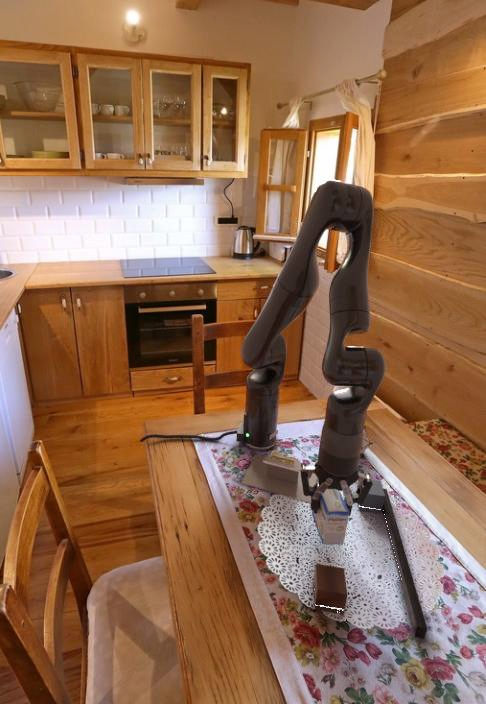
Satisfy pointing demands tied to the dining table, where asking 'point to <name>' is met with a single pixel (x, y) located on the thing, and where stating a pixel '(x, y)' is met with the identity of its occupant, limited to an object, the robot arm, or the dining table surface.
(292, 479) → the platform
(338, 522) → the medicine box
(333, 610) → the walnut block
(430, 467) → the dining table surface
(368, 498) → the slate block
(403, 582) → the straightedge
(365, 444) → the beige icosahedron
